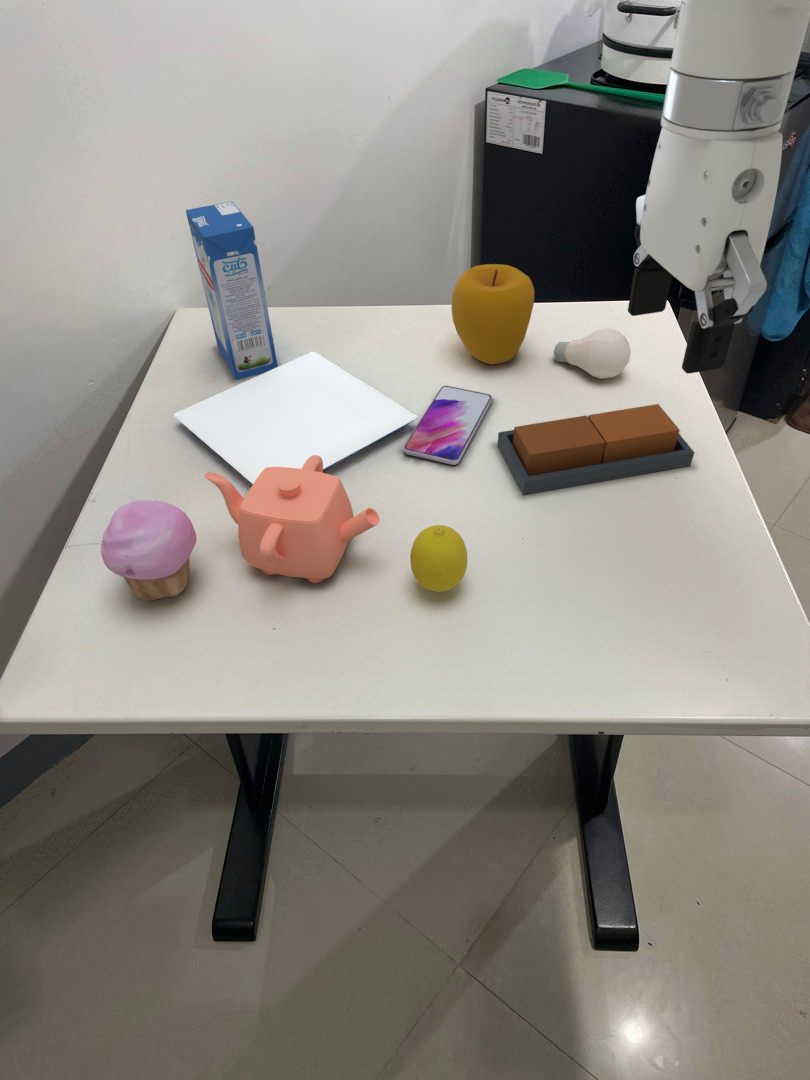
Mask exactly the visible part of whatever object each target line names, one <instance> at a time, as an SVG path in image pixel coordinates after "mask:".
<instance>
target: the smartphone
mask: <svg viewBox="0 0 810 1080" xmlns="http://www.w3.org/2000/svg"><path fill="white" fill-rule="evenodd" d="M492 402H493V396H492V395H491V394H489V393H485V392H479V391H475V390H470V389H465V388H460V387H455V386H451V385H443V386H441V387H440V389H439V390H438V391H437V393H436V395H435V397H434V398H433V399H432V401H431V403H430V404H429V406H428V407H427V409H426V411H425V412H424V414H423V415H422V417H421V419H419V421H418V423H417V425H416V427H415V428H414V429H413V431H412V433H411V434H410V436H409V437H408V439H407V441H406V442H405V444H404V445H403V447H402V449H403V453H404V454H406V455H408V456H412V457H417V458H421V459H426V460H430V461H435V462H439V463H443V464H447V465H453V466H454V465H458V464H459V463H460V462H461V460H462V459H463V456H464V455H465V453H466V451H467V449H468V447H469V445H470V444H471V441H472V439H473V438H474V435H476V432H477V430H478V429H479V426H480V425H481V423H482V420H484V419H483V418H484V417H485V416H486V413H487V411H488V410H489V408H490V406H491V404H492Z"/></svg>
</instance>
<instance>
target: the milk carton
mask: <svg viewBox="0 0 810 1080" xmlns="http://www.w3.org/2000/svg"><path fill="white" fill-rule="evenodd" d="M185 214H186V217H187V218H186V219H187V222H188V226H189V231H190V235H191V240H192V244H193V247H194V251H195V257H196V260H197V265H198V269H199V273H200V277H201V282H202V286H203V290H204V294H205V299H206V302H207V307H208V311H209V315H210V320H211V324H212V328H213V329H212V330H213V333H214V336H215V341H216V342H215V343H216V345H217V349H218V350H219V353H220V354H221V356H222V358H223V360H224V361H225V364H226V365H227V366H228V368H229V370H230V373H231V374H232V376H233V377H234V379H235V381H237V380H240V379H245V378H248V377H252V376H255V375H256V376H257V375H261V374H263V373H265V372H268V371H270V370H272V369H274V368H277V367H279V364H278V360H277V355H276V348H275V343H274V337H273V332H272V331H273V330H272V326H271V325H272V324H271V319H270V313H269V308H268V303H267V297H266V291H265V285H264V280H263V274H262V269H261V263H260V257H259V251H258V245H257V239H256V235H255V229H254V228H255V227H254V226H253V224H252V223H251V222H250V221H249V219H247V217H246V215H244V214H243V212H242V211H241V210H240V209H239V208H238V206H237V205H236V203H234V201H227V202H221V203H216V204H210V205H205V206H199V207H194V208H190V209H185Z"/></svg>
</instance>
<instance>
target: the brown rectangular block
mask: <svg viewBox="0 0 810 1080" xmlns="http://www.w3.org/2000/svg"><path fill="white" fill-rule="evenodd" d="M587 417H588V418H589V420H590V421H591V423H592V424H593V426H594V427H595V428H596V430H597V431H598V433H599V434H600V436H601V437H602V439H603V440H604V441H605V445H604V450H603V455H602V460H601V464H604V463H610V462H615V461H621V460H627V459H633V458H639V457H645V456H651V455H656V454H662V453H668V452H674V449H675V446H676V442H677V438H678V435H679V434H680V432H681V429H680V428H679V426H677V425H676V423H675V422H674V421H673V420H672V418H671V417H670V416H669V415H668V414H667V412H665V410H664V409H663V408H662V406H661V405H660V404H659V403H656V404H655V403H654V404H650V405H643V406H636V407H630V408H625V409H617V410H612V411H605V412H600V413H599V412H598V413H593V414H589V415H587Z"/></svg>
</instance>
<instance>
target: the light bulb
mask: <svg viewBox="0 0 810 1080" xmlns="http://www.w3.org/2000/svg"><path fill="white" fill-rule="evenodd" d="M631 353H632V351H631V346H630V342H629V341H628V339H627V338H626V336H625V335H624V334H623V333H621V332H620V331H619V330H616V329H613V328H602V329H596V330H595V331H593V332H591V333H590V334H588V335H586V336H584V337H582V338H579V339H572V340H571V341H558V342H557V343H556V345H555V347H554V349H553V357H554V359H555V361H556V362H557V363H568V364H569V365H572V366H575V367H578V368H581V370H583V371H585V372H586V373H587V374H589V375H590V376H591V377H594V378H597V379H601V380H602V379H608V378H614V377H616V376H618V375H619V374H621V373H622V372H623V371H624V370H625V369H626V368H627V366H628V364H629V362H630V359H631Z"/></svg>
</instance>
